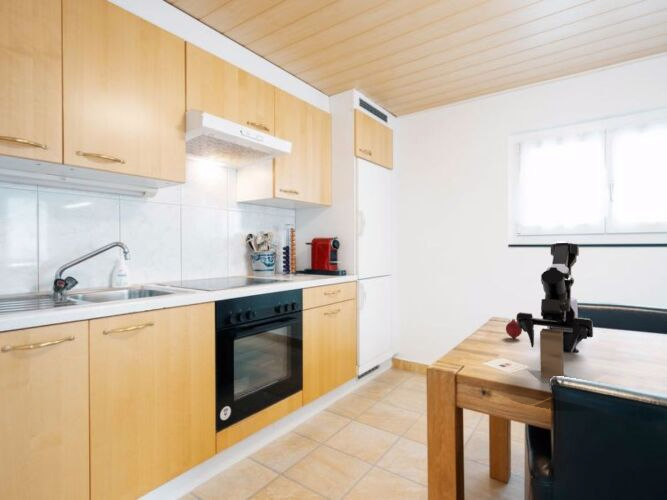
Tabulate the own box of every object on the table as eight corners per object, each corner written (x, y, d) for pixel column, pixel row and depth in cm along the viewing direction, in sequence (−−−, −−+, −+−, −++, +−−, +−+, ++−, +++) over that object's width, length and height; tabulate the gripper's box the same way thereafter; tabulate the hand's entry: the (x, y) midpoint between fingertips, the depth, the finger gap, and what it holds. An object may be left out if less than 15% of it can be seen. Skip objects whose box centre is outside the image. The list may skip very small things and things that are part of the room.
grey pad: (560, 372, 102) (560, 370, 102) (578, 384, 93) (578, 383, 93) (528, 371, 103) (528, 370, 103) (542, 384, 94) (542, 382, 94)
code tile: (501, 359, 115) (501, 357, 115) (530, 368, 106) (530, 366, 106) (481, 364, 110) (481, 363, 110) (509, 374, 101) (509, 373, 101)
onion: (524, 340, 135) (523, 320, 135) (508, 340, 137) (508, 320, 137) (519, 336, 141) (518, 317, 141) (504, 336, 142) (503, 317, 142)
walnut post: (543, 371, 101) (542, 328, 101) (563, 375, 98) (562, 330, 98) (540, 377, 97) (539, 331, 97) (561, 381, 94) (560, 334, 94)
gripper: (516, 286, 107) (509, 329, 98) (591, 290, 95) (590, 338, 86) (522, 307, 113) (515, 349, 104) (593, 313, 101) (592, 361, 93)
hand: (550, 349), depth 97 cm, fingers open, 9 cm apart
